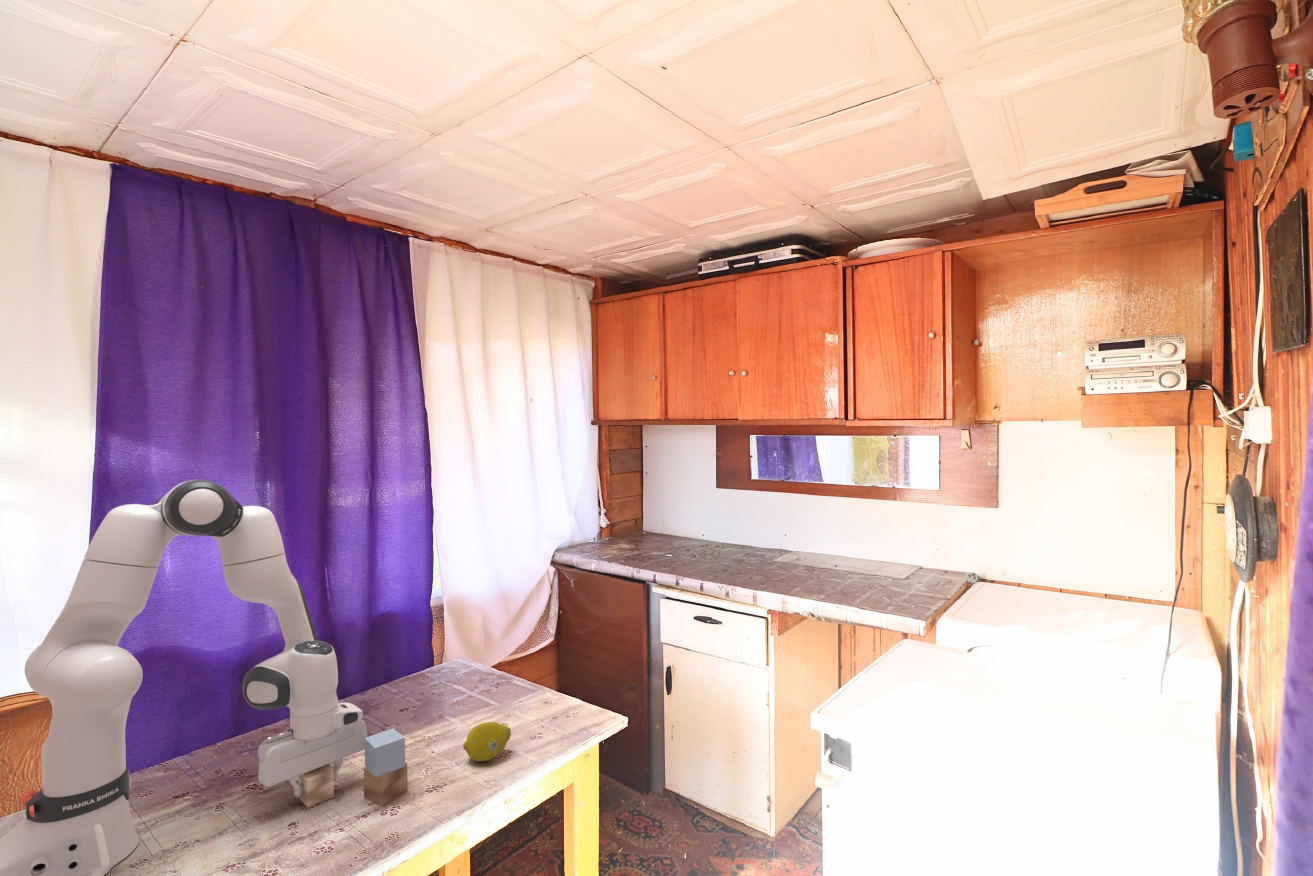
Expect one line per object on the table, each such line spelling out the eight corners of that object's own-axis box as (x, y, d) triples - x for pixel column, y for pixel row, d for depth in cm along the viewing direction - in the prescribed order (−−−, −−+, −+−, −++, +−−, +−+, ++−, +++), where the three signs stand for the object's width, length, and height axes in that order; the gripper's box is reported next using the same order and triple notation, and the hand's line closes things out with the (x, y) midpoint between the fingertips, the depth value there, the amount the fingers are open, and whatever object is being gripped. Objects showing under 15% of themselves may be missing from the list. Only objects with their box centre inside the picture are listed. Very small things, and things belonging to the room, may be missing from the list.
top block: (375, 777, 125) (375, 748, 125) (365, 766, 130) (364, 738, 130) (405, 766, 129) (404, 737, 129) (394, 755, 134) (393, 728, 134)
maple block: (307, 808, 125) (307, 778, 125) (298, 798, 129) (298, 769, 128) (333, 796, 129) (333, 768, 129) (324, 788, 132) (323, 760, 132)
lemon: (464, 771, 138) (464, 736, 138) (462, 754, 145) (461, 721, 145) (513, 761, 142) (513, 727, 142) (509, 745, 149) (508, 712, 149)
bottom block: (382, 806, 126) (381, 777, 125) (364, 797, 129) (363, 769, 129) (407, 791, 131) (407, 763, 131) (389, 783, 134) (389, 755, 134)
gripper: (263, 746, 119) (264, 817, 119) (370, 709, 134) (371, 772, 134) (252, 735, 123) (253, 804, 123) (357, 700, 138) (358, 762, 138)
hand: (316, 787), depth 129 cm, fingers closed on maple block, 5 cm apart
